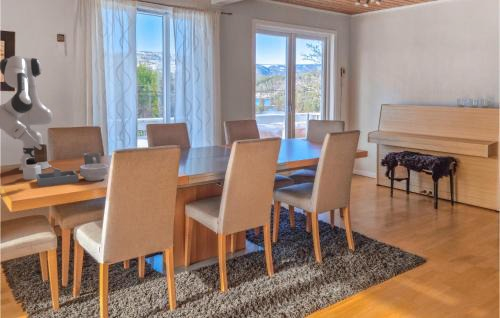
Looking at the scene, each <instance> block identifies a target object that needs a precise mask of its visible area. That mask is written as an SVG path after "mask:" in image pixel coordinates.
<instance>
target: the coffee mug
mask: <svg viewBox="0 0 500 318" xmlns="http://www.w3.org/2000/svg"><path fill="white" fill-rule="evenodd" d="M101 155H102V154H101V152H85V153H84V154H83V160H84V165H87V164H102V157H101Z"/></svg>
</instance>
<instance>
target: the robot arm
mask: <svg viewBox="0 0 500 318" xmlns="http://www.w3.org/2000/svg"><path fill="white" fill-rule="evenodd" d="M42 71H43V66H42V64H41V61H40V60H39V59H38V58H34V57H31V58H30V57H21V56H18V55H12V56H10V57H9V58H8V57H6V58H2V59H1V60H0V73H1V74H2V75H3V76H4V77H3V79H4V82H5V83H6V85H8V86H10V87H11V88H13V89H14V88H15V89H16V91H15V93H14V95H13V96H12V97H11V98H10V99H9V100H8V101H7V102H4V103H3V104H0V129H1V130H2V131H3V132H4V133H5V134H6V135H8V136H9V137H11V138H12V139H13V140H20V141H21V142H22V143H23V144H22V145H23V147H22V152H23V153H22V154H23V155H21V157H20V165H21V166H20V167H19V168H18V171H23V168H24V167H26V164H25V159H27V158H34V146H35V147H36V148H38V149H39V150H41V149H42V147H41V146H40V145H39V144H44V143H43V135H42V133H40V131H37V130H34V129H33V128H32V126H44V125H48V124H51V123H52V121H53V119H54V114H53V112H52V110H51V109H50V108H48V107H47V106H45V105H44V104H43V103H42V101H41V100H40V97H39V92H38V88H37V81H36V78H37V77H38V76H40V75H41V74H42ZM47 160H49V159H48V157H47ZM37 165H40V166H41V170H46V169H48V168H49V169H50V168H52V165H51V164H49V161H47V162H37Z"/></svg>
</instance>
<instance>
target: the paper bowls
mask: <svg viewBox="0 0 500 318" xmlns="http://www.w3.org/2000/svg"><path fill="white" fill-rule="evenodd" d="M107 175H109V165H108V164H105V163H101V164H87V165H85V164H82V165H80V166H79V176H81V177H83V179H84V180H85V181H89V182H92V181H96V182H97V181H102V180H104V179H105V177H106V176H107Z"/></svg>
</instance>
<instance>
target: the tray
mask: <svg viewBox="0 0 500 318" xmlns="http://www.w3.org/2000/svg"><path fill="white" fill-rule="evenodd" d="M51 168H52V171H53V172H43V173H42V172H41V174H36V177H37V179H36V182H37V184H38V186H39V188H40V187H48V186H57V185H65V184H67V185H68V184H74V183H80V179H79V178H80V177H79V174H78V173H77V172H76V171H75V170H73V169H71V170H64V171H62V170H61V169H60V168H57V167H54V166H53V167H51ZM66 175H70V176H66Z"/></svg>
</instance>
